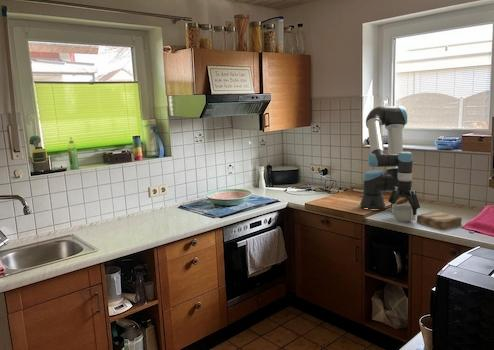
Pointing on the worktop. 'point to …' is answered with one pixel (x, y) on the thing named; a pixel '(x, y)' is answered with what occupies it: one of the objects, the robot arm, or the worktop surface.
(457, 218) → the block
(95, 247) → the worktop surface
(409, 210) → the teacup
